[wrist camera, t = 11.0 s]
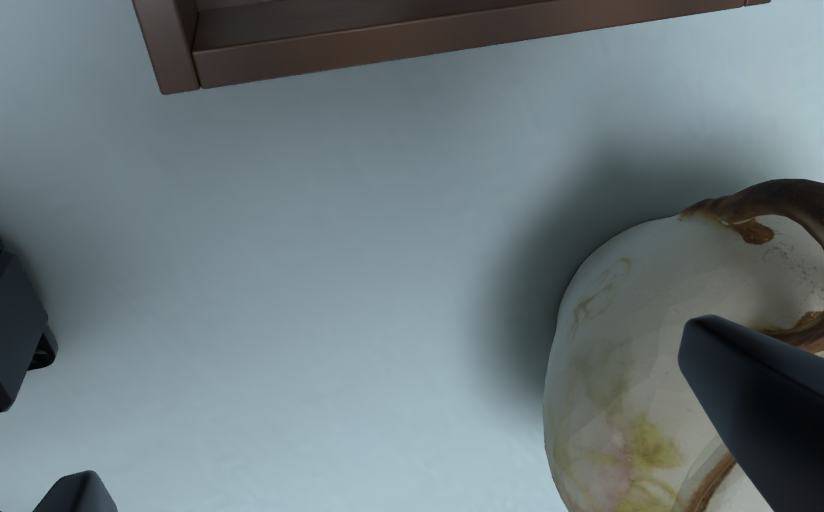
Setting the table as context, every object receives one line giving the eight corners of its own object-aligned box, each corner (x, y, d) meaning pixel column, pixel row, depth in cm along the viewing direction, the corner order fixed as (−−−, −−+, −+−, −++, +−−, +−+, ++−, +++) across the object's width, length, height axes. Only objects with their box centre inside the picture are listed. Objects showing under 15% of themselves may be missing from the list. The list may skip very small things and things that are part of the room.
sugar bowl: (429, 168, 20) (734, 600, 8) (816, 12, 21) (1628, 193, 9) (527, 484, 32) (718, 865, 19) (778, 375, 32) (1114, 676, 20)
